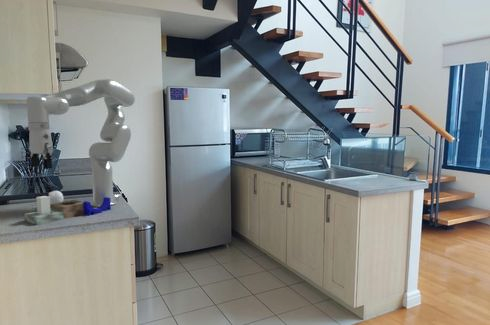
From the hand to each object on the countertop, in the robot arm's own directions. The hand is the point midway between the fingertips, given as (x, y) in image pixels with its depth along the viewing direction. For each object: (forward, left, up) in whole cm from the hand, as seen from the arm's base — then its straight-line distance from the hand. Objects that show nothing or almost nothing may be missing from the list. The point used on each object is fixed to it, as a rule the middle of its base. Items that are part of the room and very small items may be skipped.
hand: (41, 167), depth 145 cm
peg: (0, 0, -23) cm, 23 cm away
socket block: (-5, 0, -23) cm, 23 cm away
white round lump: (-15, -20, -23) cm, 34 cm away
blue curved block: (-21, +7, -23) cm, 32 cm away
